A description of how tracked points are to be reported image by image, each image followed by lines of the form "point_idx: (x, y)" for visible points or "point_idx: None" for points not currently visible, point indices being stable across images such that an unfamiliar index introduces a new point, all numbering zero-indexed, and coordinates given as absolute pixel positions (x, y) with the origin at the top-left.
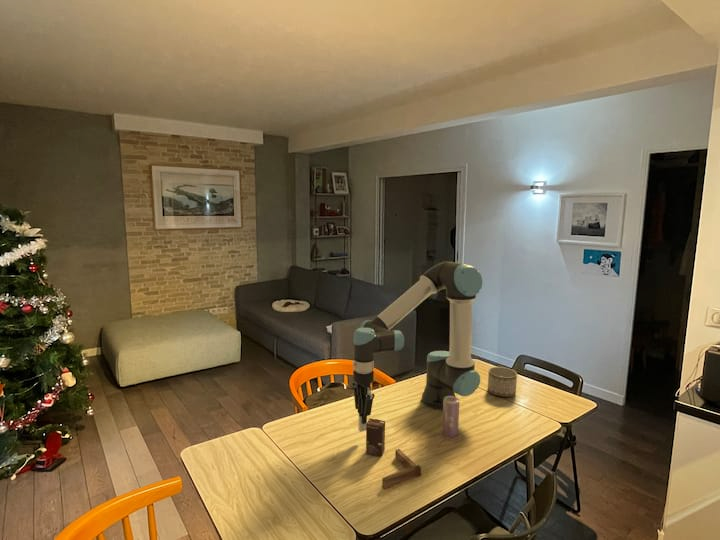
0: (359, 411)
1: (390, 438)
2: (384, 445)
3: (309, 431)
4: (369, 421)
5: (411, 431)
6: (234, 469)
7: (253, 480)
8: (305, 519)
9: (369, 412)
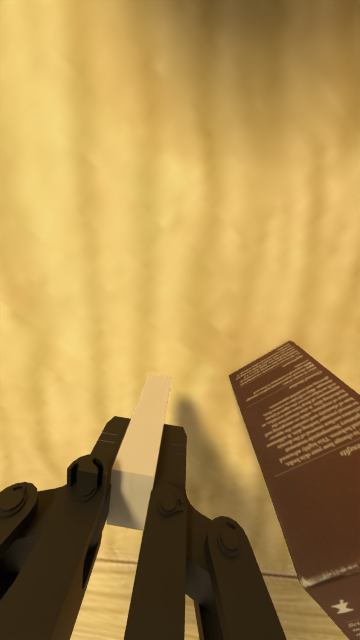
0: (98, 549)
1: (236, 245)
2: (308, 354)
3: (3, 465)
4: (353, 618)
5: (271, 68)
6: (86, 634)
7: None
8: (335, 625)
9: (262, 612)
